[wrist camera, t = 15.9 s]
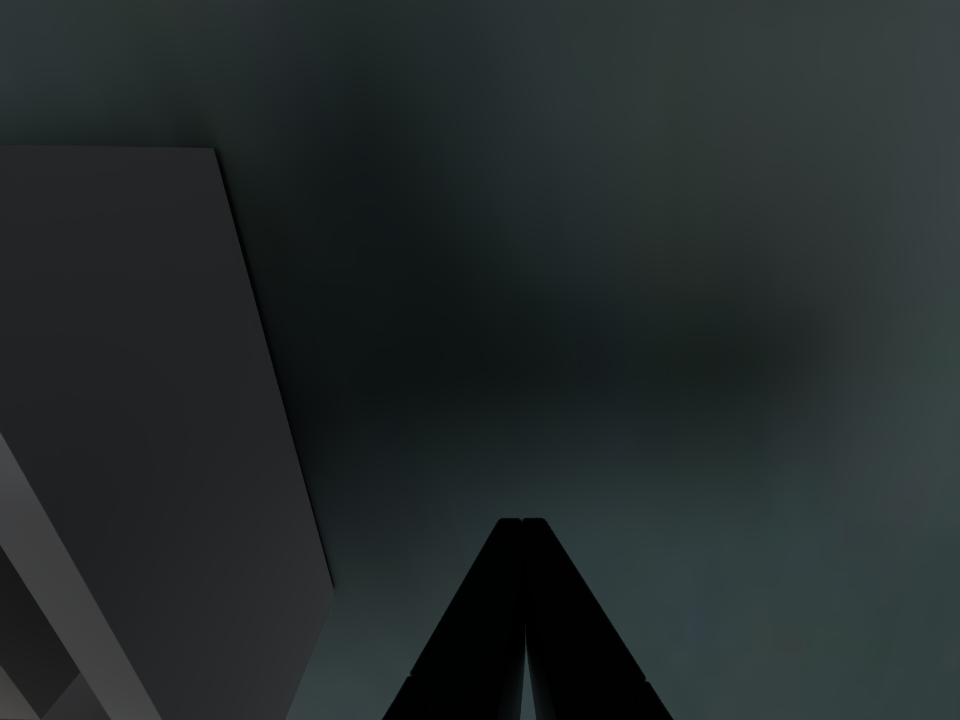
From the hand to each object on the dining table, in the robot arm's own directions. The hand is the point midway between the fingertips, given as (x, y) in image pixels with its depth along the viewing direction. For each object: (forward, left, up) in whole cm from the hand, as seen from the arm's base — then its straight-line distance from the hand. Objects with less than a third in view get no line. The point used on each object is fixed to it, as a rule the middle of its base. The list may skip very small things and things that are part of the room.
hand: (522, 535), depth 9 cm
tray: (+12, 0, -4) cm, 13 cm away
